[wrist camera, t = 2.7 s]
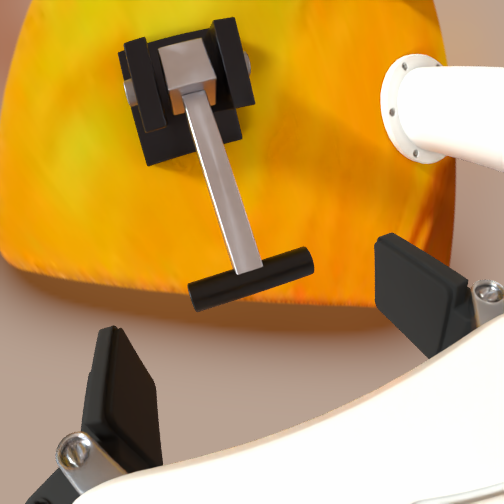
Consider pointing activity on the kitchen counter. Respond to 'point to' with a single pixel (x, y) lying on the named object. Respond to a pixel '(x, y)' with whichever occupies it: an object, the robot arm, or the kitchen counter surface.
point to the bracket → (157, 101)
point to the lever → (222, 185)
